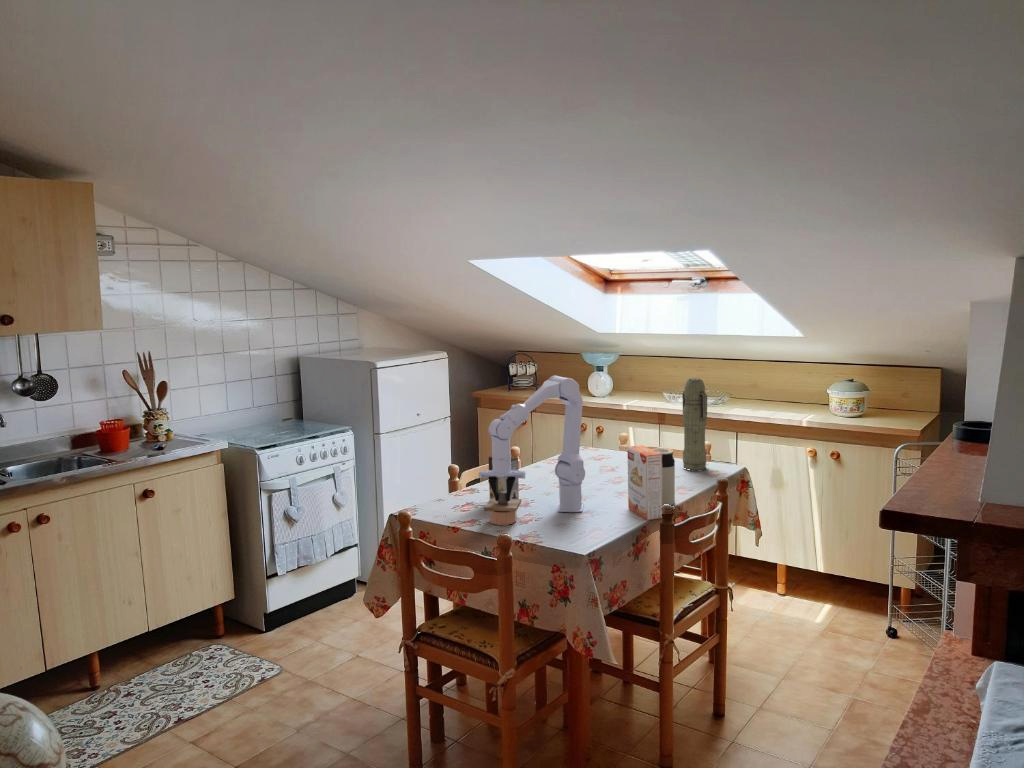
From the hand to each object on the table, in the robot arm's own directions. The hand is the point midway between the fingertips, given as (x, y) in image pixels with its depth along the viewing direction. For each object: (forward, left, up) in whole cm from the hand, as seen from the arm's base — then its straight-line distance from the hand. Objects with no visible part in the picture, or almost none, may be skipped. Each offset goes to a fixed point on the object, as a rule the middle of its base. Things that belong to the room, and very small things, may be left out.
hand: (502, 500), depth 254 cm
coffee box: (-21, -3, -7) cm, 22 cm away
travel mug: (-23, +50, -7) cm, 56 cm away
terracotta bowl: (0, 0, -7) cm, 7 cm away
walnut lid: (0, 0, -2) cm, 2 cm away
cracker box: (-11, +44, -7) cm, 46 cm away
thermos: (-72, +64, -7) cm, 97 cm away
